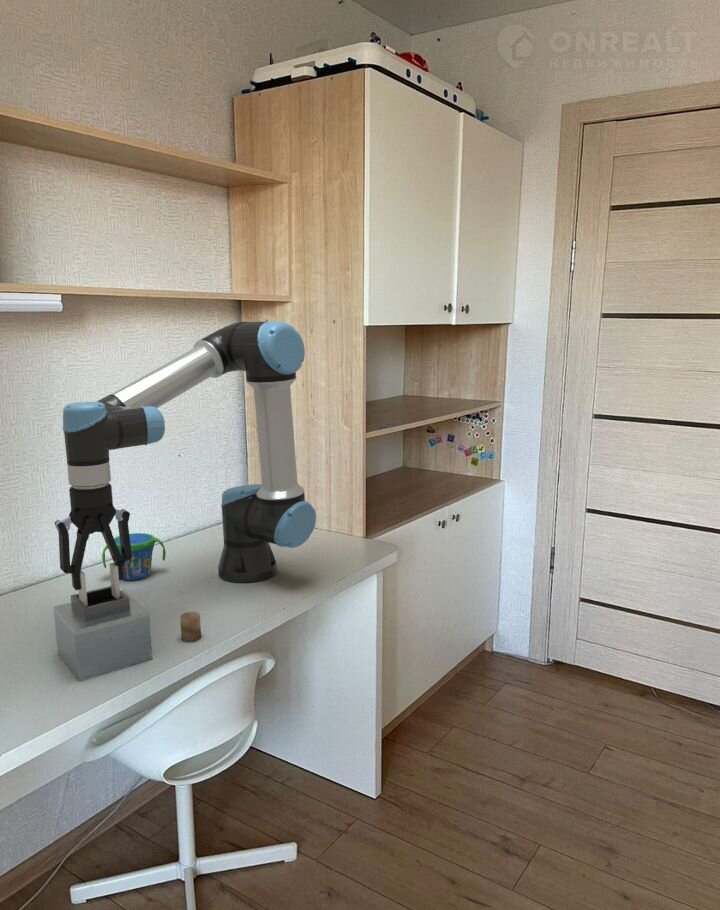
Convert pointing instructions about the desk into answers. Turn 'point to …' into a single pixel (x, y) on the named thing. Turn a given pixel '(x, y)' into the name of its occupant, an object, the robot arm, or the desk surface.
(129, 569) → the snack cup
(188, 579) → the desk surface
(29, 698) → the desk surface
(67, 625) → the grey block with socket
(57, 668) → the desk surface
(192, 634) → the pellet
